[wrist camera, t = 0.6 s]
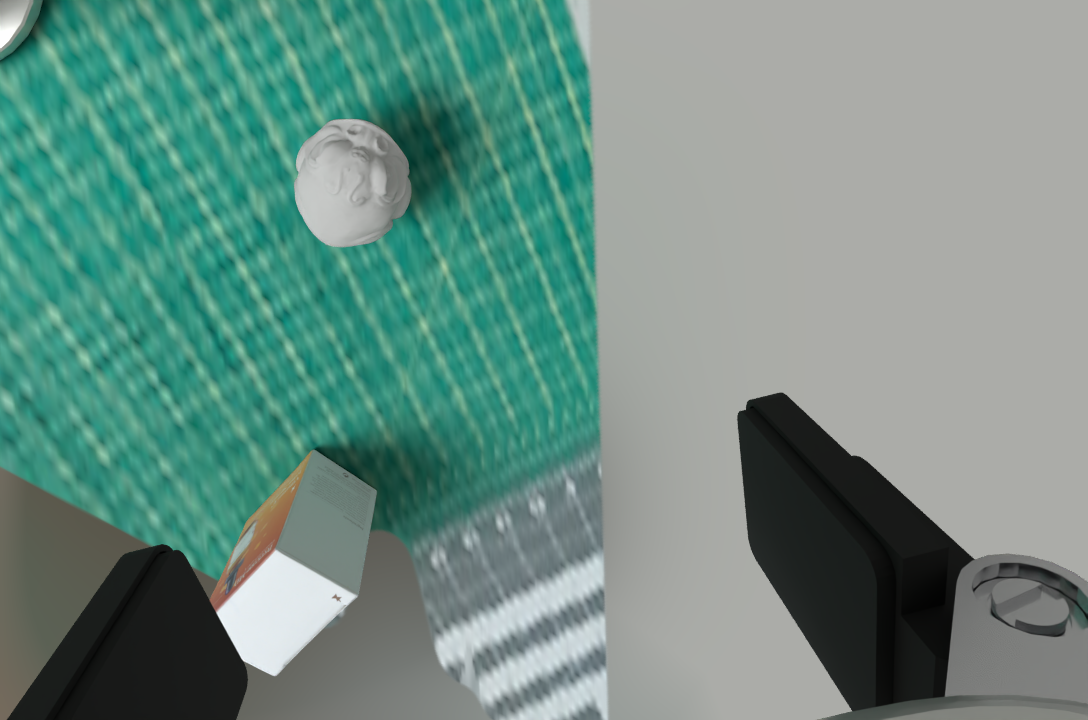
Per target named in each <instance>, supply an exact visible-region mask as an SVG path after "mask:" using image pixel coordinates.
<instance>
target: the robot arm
mask: <svg viewBox="0 0 1088 720" xmlns="http://www.w3.org/2000/svg"><path fill="white" fill-rule="evenodd" d="M42 2H43V0H0V60H1V59H3V58H4V57H6V56H8V55H9V54H11V53H12V52H13V51H14V50H15V49H16V48H17V47H18V46H19V45H20V44H21V43H22V42H23V41H24V39H25V38H26V37H27V36H28V35H29V33H30V31H31V29H32V27H33V25H34V24H35V22H36V20H37V18H38V16H39V13H40V9H41V5H42ZM737 420H738V431H739V442H740V453H741V464H742V475H743V486H744V497H745V508H746V519H747V530H748V539H749V543H750V547H751V550H752V553H753V555H754V557H755V559H756V561H757V562H758V564H759V565H760V567H761V568H762V570H763V572H764V573H765V575H766V576H767V578H768V579H769V581H770V583H771V584H772V586H773V587H774V589H775V590H776V592H777V594H778V595H779V597H780V598H781V600H782V601H783V603H784V605H785V606H786V608H787V609H788V611H789V612H790V614H791V616H792V617H793V619H794V620H795V621H796V623H797V625H798V627H799V628H800V630H801V631H802V633H803V634H804V636H805V638H806V639H807V641H808V642H809V644H810V645H811V647H812V649H813V650H814V652H815V653H816V655H817V656H818V658H819V659H820V661H821V663H822V664H823V665H824V667H825V669H826V670H827V672H828V674H829V675H830V677H831V678H832V680H833V681H834V683H835V685H836V686H837V688H838V689H839V691H840V692H841V694H842V695H843V697H844V699H845V700H846V702H847V703H848V705H849V707H850V708H851V710H852V712H847V713H843V714H839V715H835V716H831V717H827V718H822V719H819V720H1088V582H1087V581H1085V580H1084V579H1083V578H1081V577H1080V576H1078V575H1077V574H1076V573H1074V572H1072V571H1070V570H1068V569H1066V568H1063V567H1061V566H1059V565H1057V564H1055V563H1052V562H1049V561H1045V560H1041V559H1038V558H1034V557H1031V556H1024V555H1015V554H999V555H987V556H984V557H981V558H978V559H973V558H972V557H971V556H970V555H969V554H968V553H967V552H966V551H965V550H964V549H962V548H961V547H960V546H959V545H958V544H957V543H956V542H955V541H954V540H953V539H951V538H950V537H949V536H948V535H947V534H946V533H945V532H944V531H942V529H940V528H939V527H938V526H937V525H936V524H935V523H934V522H933V521H932V520H930V518H928V517H927V516H926V515H925V514H924V513H923V512H922V511H921V510H920V509H919V508H917V507H916V506H915V505H914V504H913V503H912V502H911V501H910V500H909V499H908V498H906V497H905V496H904V495H903V494H902V493H901V492H900V491H899V490H898V489H897V488H896V487H894V486H893V485H892V484H891V483H890V482H889V481H888V480H887V479H886V478H884V476H882V475H881V474H880V473H879V472H878V471H877V470H876V469H875V468H874V467H873V466H871V465H870V464H869V463H868V462H867V461H865V460H864V459H863V458H861V457H859V456H851V455H850V454H849V453H848V452H847V451H846V450H845V449H844V448H842V447H841V446H840V445H839V444H838V443H837V442H836V441H835V440H834V439H833V438H832V437H831V436H829V435H828V434H827V433H826V432H825V431H824V430H823V429H822V428H821V427H820V426H819V425H818V424H817V423H816V422H815V421H814V420H812V419H811V418H810V417H809V416H808V415H807V414H806V413H805V412H804V411H803V410H802V409H801V408H799V406H797V405H796V404H795V403H794V402H793V401H792V400H791V399H790V398H789V397H788V396H787V395H785V394H784V393H776V394H772V395H768V396H764V397H760V398H756V399H752V400H749V401H748V402H747V405H746V410H744V411H739V413H738V419H737ZM247 681H248V678H247V670H246V667H245V664H244V662H243V660H242V659H241V657H240V655H239V653H238V651H237V649H236V648H235V646H234V644H233V642H232V640H231V638H230V637H229V635H228V633H227V631H226V629H225V628H224V626H223V624H222V622H221V620H220V618H219V617H218V615H217V613H216V611H215V609H214V607H213V606H212V604H211V602H210V600H209V599H208V597H207V595H206V593H205V591H204V590H203V587H202V586H201V584H200V582H199V580H198V578H197V576H196V575H195V573H194V571H193V569H192V567H191V566H190V564H189V562H188V560H187V558H186V557H185V555H184V554H183V553H182V552H181V551H179V550H174V551H173V550H172V548H170V547H169V546H168V545H163V544H161V545H157V546H153V547H149V548H145V549H141V550H137V551H133V552H129V553H127V554H124V555H123V556H122V557H121V558H120V559H119V561H118V562H117V563H116V565H115V566H114V568H113V569H112V571H111V572H110V574H109V575H108V576H107V578H106V579H105V581H104V582H103V583H102V585H101V586H100V588H99V589H98V591H97V592H96V593H95V595H94V596H93V598H92V599H91V601H90V602H89V604H88V605H87V606H86V608H85V609H84V611H83V612H82V613H81V615H80V616H79V618H78V619H77V621H76V622H75V623H74V625H73V626H72V628H71V629H70V631H69V632H68V633H67V635H66V636H65V638H64V639H63V641H62V642H61V643H60V645H59V646H58V648H57V649H56V651H55V652H54V654H53V655H52V656H51V658H50V659H49V661H48V662H47V663H46V665H45V666H44V668H43V669H42V670H41V672H40V674H39V675H38V676H37V678H36V679H35V680H34V682H33V683H32V685H31V686H30V688H29V689H28V690H27V692H26V693H25V695H24V696H23V698H22V699H21V700H20V702H19V703H18V705H17V706H16V708H15V709H14V711H13V712H12V713H11V715H10V716H9V718H8V719H7V720H236V718H237V716H238V713H239V710H240V707H241V704H242V701H243V698H244V695H245V692H246V689H247Z"/></svg>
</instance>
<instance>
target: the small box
mask: <svg viewBox="0 0 1088 720" xmlns="http://www.w3.org/2000/svg"><path fill="white" fill-rule="evenodd" d="M376 496H377V491H376V490H375V489H374V488H372V487H371V486H369V485H368V484H366V483H365V482H363V481H362V480H360V479H359V478H357V477H356V476H354V475H353V474H351V473H349V472H348V471H346V470H345V469H343V468H342V467H340V466H339V465H337V464H336V463H334V462H333V461H331V460H329V459H328V458H326V457H325V456H323V455H322V454H320V453H319V452H317V451H316V450H312V451H311V452H310V453H309V454H308V455H307V457H306V458H305V459H304V460H303V461H302V462H301V464H300V465H299V466H298V467H297V468H296V469H295V470H294V471H293V473H292V474H291V475H290V476H289V477H288V478H287V479H286V480H285V481H284V482H283V483H282V484H281V485H280V486H279V487H278V488H277V490H276V491H275V492H274V493H273V494H272V495H271V496H270V497H269V498H268V499H267V500H266V501H265V502H264V503H263V504H262V506H261V507H260V508H259V509H258V510H257V511H256V512H255V513H254V514H253V515H252V516H251V517H250V518H249V519H248V520H247V522H246V524H245V526H244V529H243V531H242V533H241V535H240V537H239V540H238V542H237V544H236V546H235V548H234V550H233V552H232V554H231V556H230V558H229V560H228V562H227V565H226V567H225V569H224V571H223V573H222V576H221V578H220V580H219V582H218V584H217V586H216V588H215V590H214V592H213V594H212V596H211V598H210V602H211V604H212V606H213V607H214V609H215V611H216V613H217V615H218V617H219V618H220V620H221V622H222V624H223V626H224V628H225V629H226V631H227V633H228V635H229V637H230V638H231V640H232V642H233V644H234V646H235V648H236V649H237V651H238V653H239V655H240V657H241V659H242V660H243V661H245V662H247V663H249V664H251V665H253V666H255V667H257V668H259V669H261V670H263V671H265V672H267V673H269V674H271V675H273V676H276V675H278V674H279V673H280V672H281V670H282V669H283V668H284V667H285V666H286V665H287V664H288V663H289V662H290V661H291V660H292V659H293V658H294V657H295V656H296V655H297V654H298V653H299V652H300V651H301V650H302V648H304V647H305V646H306V645H307V644H308V643H309V641H311V640H312V639H313V638H314V637H315V636H316V635H317V634H318V633H319V632H320V631H321V630H322V629H323V628H324V627H325V626H326V625H327V624H328V623H329V622H330V621H331V620H332V619H333V618H334V617H335V616H336V615H338V614H339V613H340V612H341V611H342V610H343V609H344V608H345V607H346V606H348V605H349V604H350V603H351V602H352V601H353V600H354V599H356V598H357V597H358V595H359V589H360V583H361V578H362V572H363V567H364V562H365V556H366V551H367V545H368V540H369V535H370V529H371V524H372V519H373V513H374V507H375V501H376Z"/></svg>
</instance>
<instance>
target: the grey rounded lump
mask: <svg viewBox="0 0 1088 720" xmlns="http://www.w3.org/2000/svg"><path fill="white" fill-rule="evenodd" d="M296 167H297V170H298V172H299V174H298V177H297V178H296V180H295V183H294V189H295V199H296V204H297V206H298V209H299V211H300V213H301V215H302V216H303V218H304V221H305V222H306V224H307V226H308V227H309V229H310V230H311V231H312V233H313V234H314V235H315V236H316V237H317V238H318V239H319V240H320V241H322V242H323V243H325V244H326V245H330V246H334V247H349V246H356V245H362V244H368V243H371V242H374V241H376V240H378V239H380V238H381V237H382V236H383V235H384V234H386V233H387V232H388V231H389V230H390V229H391V228H392V225H393V221H392V220H393V219H396V218H400V217H401V216H402V215H403V214H404V213H405V211H406V209H407V208H408V205H409V203H410V198H411V183H410V180H409V178H408V177H407V176H408V175H409V168H408V167H409V163H408V160H407V158H406V156H405V155H404V153H403V152H402V151H401V149H400V148H399V146H398V145H397V144H396V143H395V141H394V140H393V139H392V138H391V136H390V135H389V134H387V133H386V132H385V131H384V130H383V129H381V128H380V127H379V126H376V125H374V124H373V123H371V122H368V121H365V120H361V119H337V120H332V121H329V122H328V123H327V124H326V125H324V126H323V127H322V128H321V130H319V131H318V132H317V133H316V134H315V135H314V136H312V137H310V138H309V139H308V140H307V141H305V142H304V144H303V145H302V147H301V149H300V151H299V153H298V156H297V159H296Z"/></svg>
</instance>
